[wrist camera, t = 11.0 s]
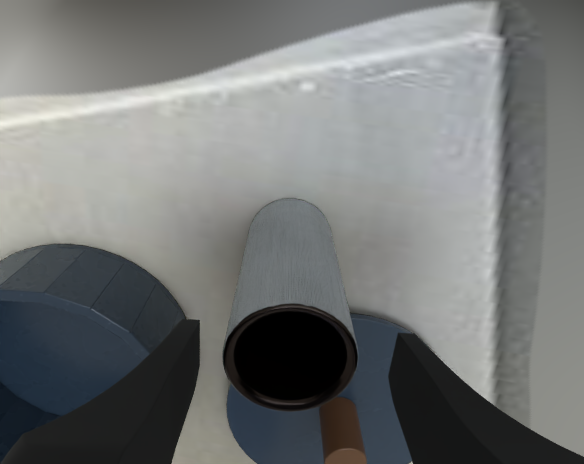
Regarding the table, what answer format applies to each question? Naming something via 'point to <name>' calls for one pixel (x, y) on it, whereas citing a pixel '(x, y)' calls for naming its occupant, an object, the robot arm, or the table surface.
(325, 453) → the pan lid
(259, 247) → the gray hollow cylinder
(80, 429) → the robot arm
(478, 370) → the table surface
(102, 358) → the pan
